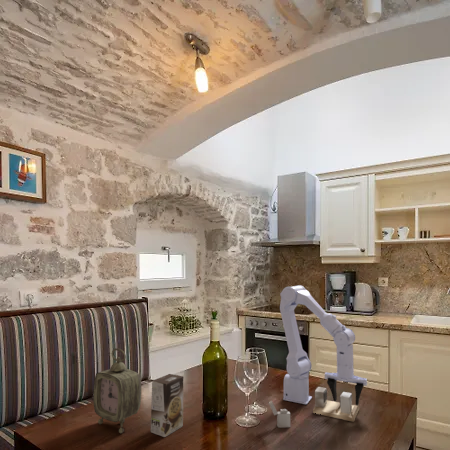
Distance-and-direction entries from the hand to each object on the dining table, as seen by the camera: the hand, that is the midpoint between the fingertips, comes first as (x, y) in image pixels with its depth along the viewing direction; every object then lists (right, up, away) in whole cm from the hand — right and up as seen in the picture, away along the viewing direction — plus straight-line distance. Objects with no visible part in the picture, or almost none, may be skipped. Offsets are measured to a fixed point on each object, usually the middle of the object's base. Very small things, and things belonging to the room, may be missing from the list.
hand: (346, 402), depth 131 cm
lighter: (-25, -3, -10) cm, 28 cm away
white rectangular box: (0, -3, -1) cm, 3 cm away
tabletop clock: (-79, -3, -10) cm, 80 cm away
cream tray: (-3, -4, +1) cm, 5 cm away
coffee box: (-62, -3, -13) cm, 64 cm away
